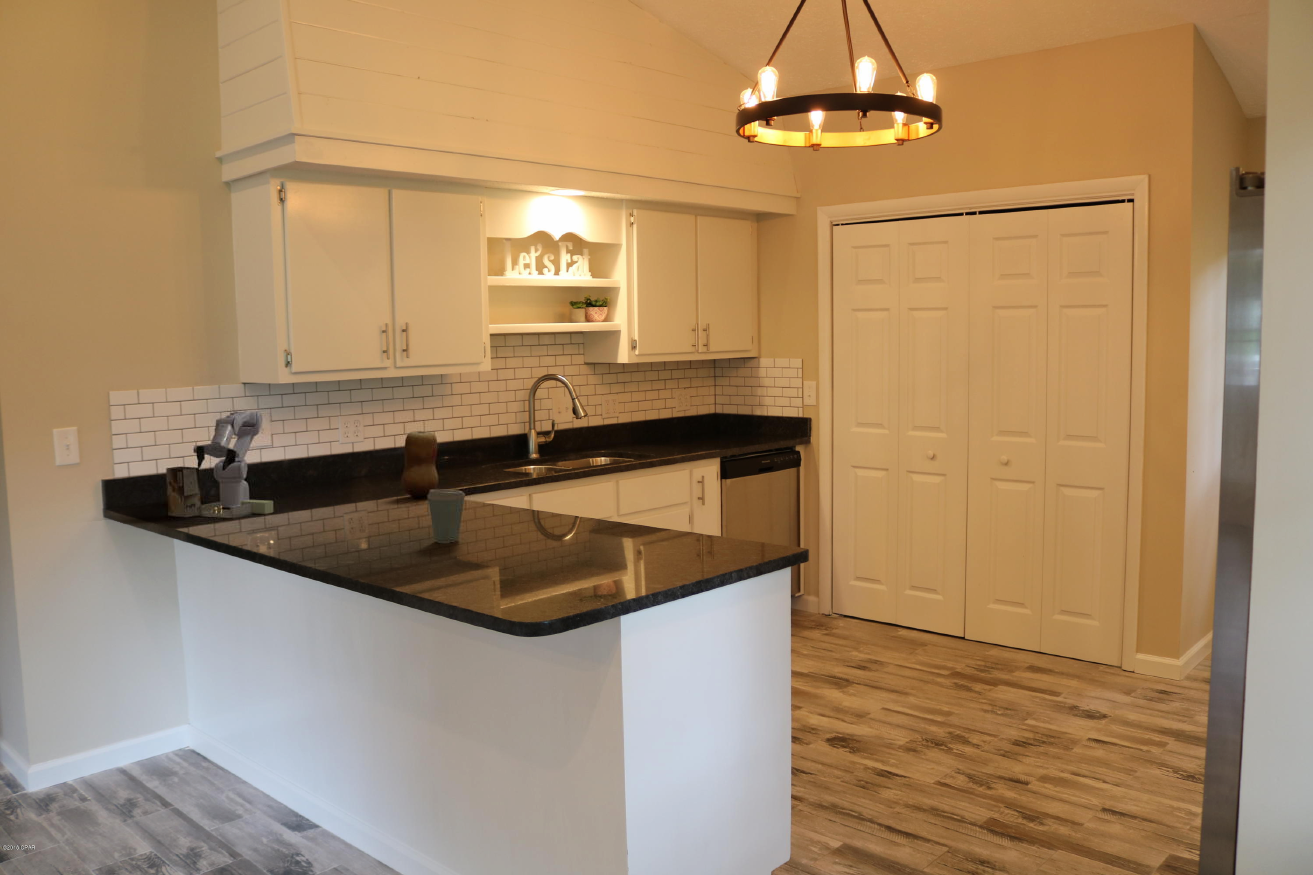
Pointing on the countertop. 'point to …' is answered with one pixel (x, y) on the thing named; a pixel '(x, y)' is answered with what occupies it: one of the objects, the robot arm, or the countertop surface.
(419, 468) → the butternut squash
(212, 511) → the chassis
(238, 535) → the countertop surface
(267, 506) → the board
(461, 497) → the disposable coffee cup
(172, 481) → the coffee box
